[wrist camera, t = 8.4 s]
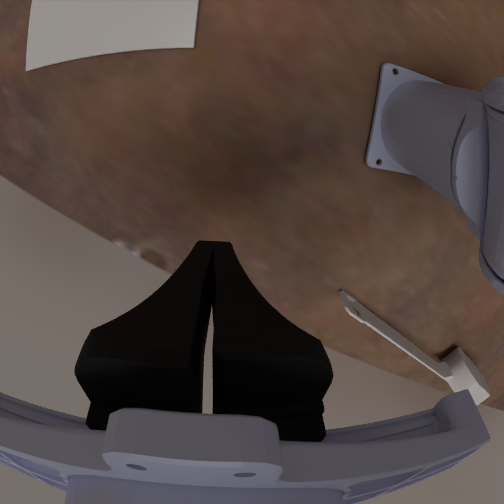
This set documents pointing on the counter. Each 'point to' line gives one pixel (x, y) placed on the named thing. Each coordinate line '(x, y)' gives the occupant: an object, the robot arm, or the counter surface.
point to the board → (106, 28)
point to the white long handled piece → (450, 367)
